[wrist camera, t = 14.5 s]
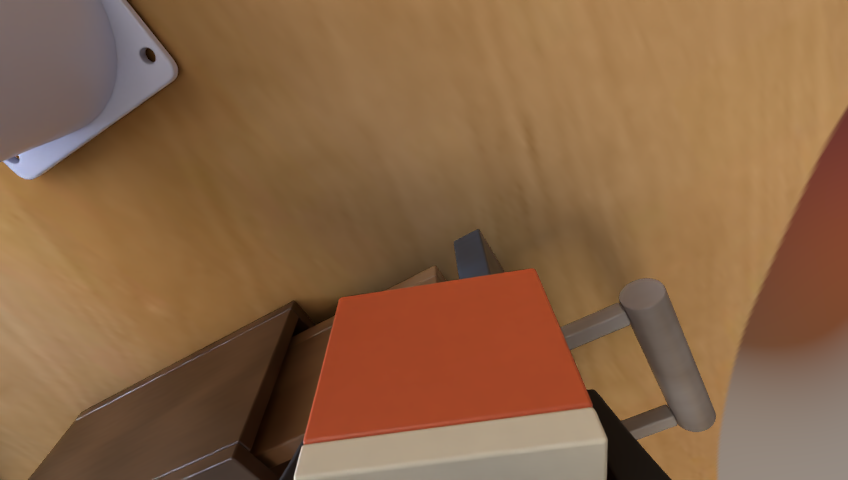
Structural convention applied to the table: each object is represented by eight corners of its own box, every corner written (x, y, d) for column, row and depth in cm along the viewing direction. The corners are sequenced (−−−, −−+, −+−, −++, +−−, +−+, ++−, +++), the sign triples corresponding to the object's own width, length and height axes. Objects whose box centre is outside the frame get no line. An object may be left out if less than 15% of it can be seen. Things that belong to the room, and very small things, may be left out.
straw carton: (338, 296, 10) (290, 480, 6) (535, 266, 10) (609, 439, 6) (393, 466, 13) (383, 665, 9) (547, 446, 13) (604, 644, 9)
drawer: (587, 171, 18) (671, 260, 12) (668, 357, 22) (757, 487, 16) (228, 355, 22) (159, 488, 16) (359, 480, 26) (343, 618, 21)
